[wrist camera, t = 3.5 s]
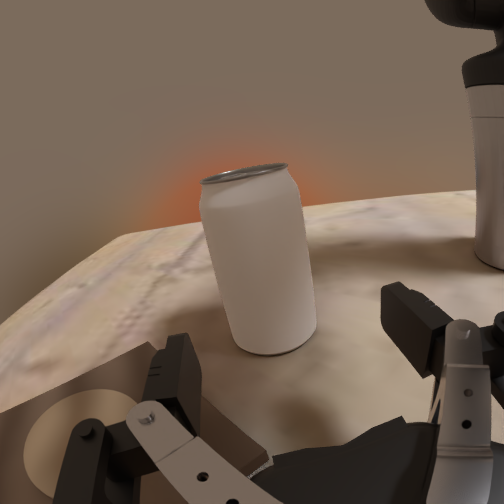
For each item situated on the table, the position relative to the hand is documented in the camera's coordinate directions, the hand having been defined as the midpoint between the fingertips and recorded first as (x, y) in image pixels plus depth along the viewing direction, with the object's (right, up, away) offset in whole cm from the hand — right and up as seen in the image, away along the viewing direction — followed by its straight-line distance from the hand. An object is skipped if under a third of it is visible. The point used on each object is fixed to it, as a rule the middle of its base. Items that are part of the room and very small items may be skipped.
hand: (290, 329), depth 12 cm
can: (0, -3, +11) cm, 12 cm away
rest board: (-11, -9, +1) cm, 14 cm away
